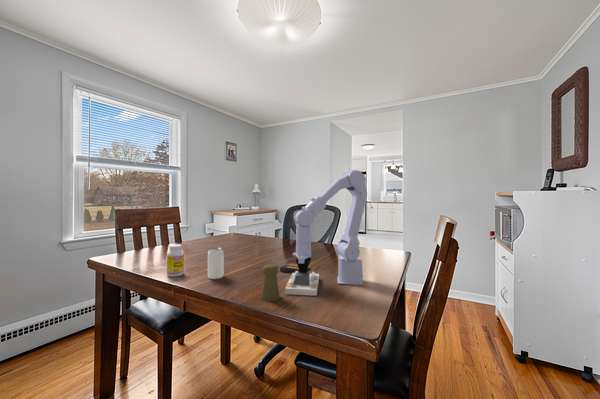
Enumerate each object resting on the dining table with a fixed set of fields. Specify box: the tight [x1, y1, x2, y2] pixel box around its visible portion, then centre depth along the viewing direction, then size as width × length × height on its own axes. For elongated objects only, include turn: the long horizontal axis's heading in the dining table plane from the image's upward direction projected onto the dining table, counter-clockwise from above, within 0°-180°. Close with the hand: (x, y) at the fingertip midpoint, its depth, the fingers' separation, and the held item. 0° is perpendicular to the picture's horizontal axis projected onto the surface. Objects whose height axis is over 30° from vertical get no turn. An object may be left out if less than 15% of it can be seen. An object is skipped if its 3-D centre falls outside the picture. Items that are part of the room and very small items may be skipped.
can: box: [207, 247, 225, 280], centre depth 106 cm, size 6×6×12 cm
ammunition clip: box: [279, 263, 311, 274], centre depth 117 cm, size 11×2×12 cm
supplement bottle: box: [166, 243, 185, 278], centre depth 109 cm, size 7×7×13 cm
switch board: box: [284, 271, 320, 296], centre depth 95 cm, size 11×18×4 cm, turn 173°
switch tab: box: [295, 272, 311, 285], centre depth 92 cm, size 5×4×3 cm
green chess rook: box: [261, 263, 280, 302], centre depth 84 cm, size 6×6×11 cm
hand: (303, 277), depth 96 cm, fingers closed
